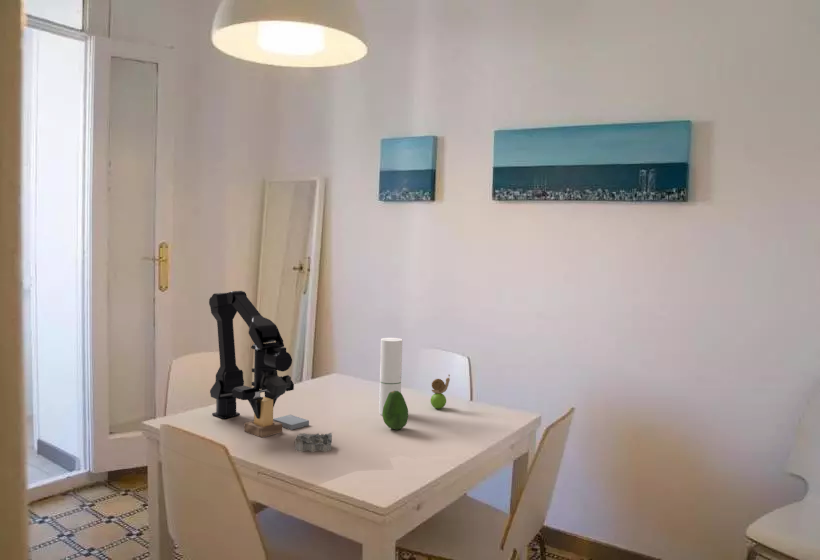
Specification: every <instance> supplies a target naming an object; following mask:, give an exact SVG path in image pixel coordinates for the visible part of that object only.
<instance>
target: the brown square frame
mask: <svg viewBox="0 0 820 560" xmlns="http://www.w3.org/2000/svg"><path fill="white" fill-rule="evenodd" d="M282 425H283V424H282V423H279V422H276V421H273V424H272V425H269V426H265V427H262V426H259V425H256V424H254V420H251V421H247V422H244V425H243V426H244V427H243V428H244V432H246V433H249V434H252V435H254V436H257V437H259V438H265V437H269V436H273V435H276V434H279V433H283V427H282Z"/></svg>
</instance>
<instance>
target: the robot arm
mask: <svg viewBox="0 0 820 560" xmlns="http://www.w3.org/2000/svg"><path fill="white" fill-rule="evenodd" d="M247 296H248V295H247V293H246V291H243V290H234V291H233V290H231V291H229V292H218V293H217V292H215V293H213V294H212V295H211V296H210V297H209V299H208V305H209V307H210V313H211V315H212V316H213V318H214V319H215V320H216V322H217V323H216V324H217V325H216V326H217V327H216V328H217V338H218V340H217V341H218V350H219V351H218V353H219V368H218V369H217V372H216V373H215V382H214V383H213V385H212V387H211V389H210V390H209V393H210V397H211V398H212V399H215V400H216V402H215V403H216V407H215V409H216V410H215V411H216V412H212V414H211V415H212V416H215V417H217V418H220V419H224V420H225V419H228V418H231V417H236V416H240V415H241V413H239V412H238V411H237V399H239V400H241V401H246V400H247V401H248V402H249V404H250V406H251V408H252V410H253V413H255V415H256V417H257V418H258V419H260V414H261V401H262V399H263V397H266V398H270V399H273V408H274V407H275V404H276V402H277V400H278V398H279V397H281V396H282V395H284V394H286V392H291V391H294V390H295V384H294V382H293V380H292V377H291V376H290V375H289V374H287V375H283V376H279V375H278V371H279V372H286V371H287V370H289V369H290V368H291V366H292V363H293V358H292V356H291V353H289V352H287V347H286V346H285V343H284V340H283V337H282V336H281V334H280V330H279V329H278V326H277V325H276V323H275V322H273V321H272V320H271V319H269V318H267V317H264V316H263V315H262V314H261V313H260V312H259V311H258V309H257V308H256V307H255V305H254V304H253V303H252V302H251V301H250V299H249V298H248V297H247ZM237 313H238V314H239V315H240V317H241V319H243V321H244V322H245V324H246V325H247V327H248V335H249V337H250V338H251V340H252V342H253V344H252V345H251V347H250V348H251V349H252V350H254V358H253V359H254V361H253V363H254V364H253V365H254V367H253V368H251V373H254V374H253V375H254V376H253V377H254V378H253V381H251V387H250V386H247V385H245V380H244V371H243V369H240V368H239V367H238V365H237V359H236V345H235V344H236V343H235V332H234V330H235V329H234V318H235V316H236V314H237ZM261 393H264V396H261Z"/></svg>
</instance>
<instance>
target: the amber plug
mask: <svg viewBox="0 0 820 560" xmlns="http://www.w3.org/2000/svg"><path fill="white" fill-rule="evenodd" d="M262 397H263V399H262V401H261V414H260V419H258V418H257V417H256V415H255V413H254V412H253V413H254V414H253V421H254V424H256V425H259V426H262V427H265V426H269V425H272V424H273V419H274V407H273V399H270V398H266V397H265V396H262Z"/></svg>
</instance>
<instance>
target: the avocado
mask: <svg viewBox="0 0 820 560" xmlns="http://www.w3.org/2000/svg"><path fill="white" fill-rule="evenodd" d="M381 416H382V420H383V422H384V424H385V425H386V426H387V427H388V428H389V429H392V430H397V431H398V430H401V429H403V428H404V427H405V426H406V425H407V423H408V419H409V409H408V406H407V402H406V400H405V398H404V396H403V394H402V392H401V393H400V392H399V391H392V392H390V393H389V395H388V397H387V399H386V402H385V404H384V407H383V413H382V415H381Z"/></svg>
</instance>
